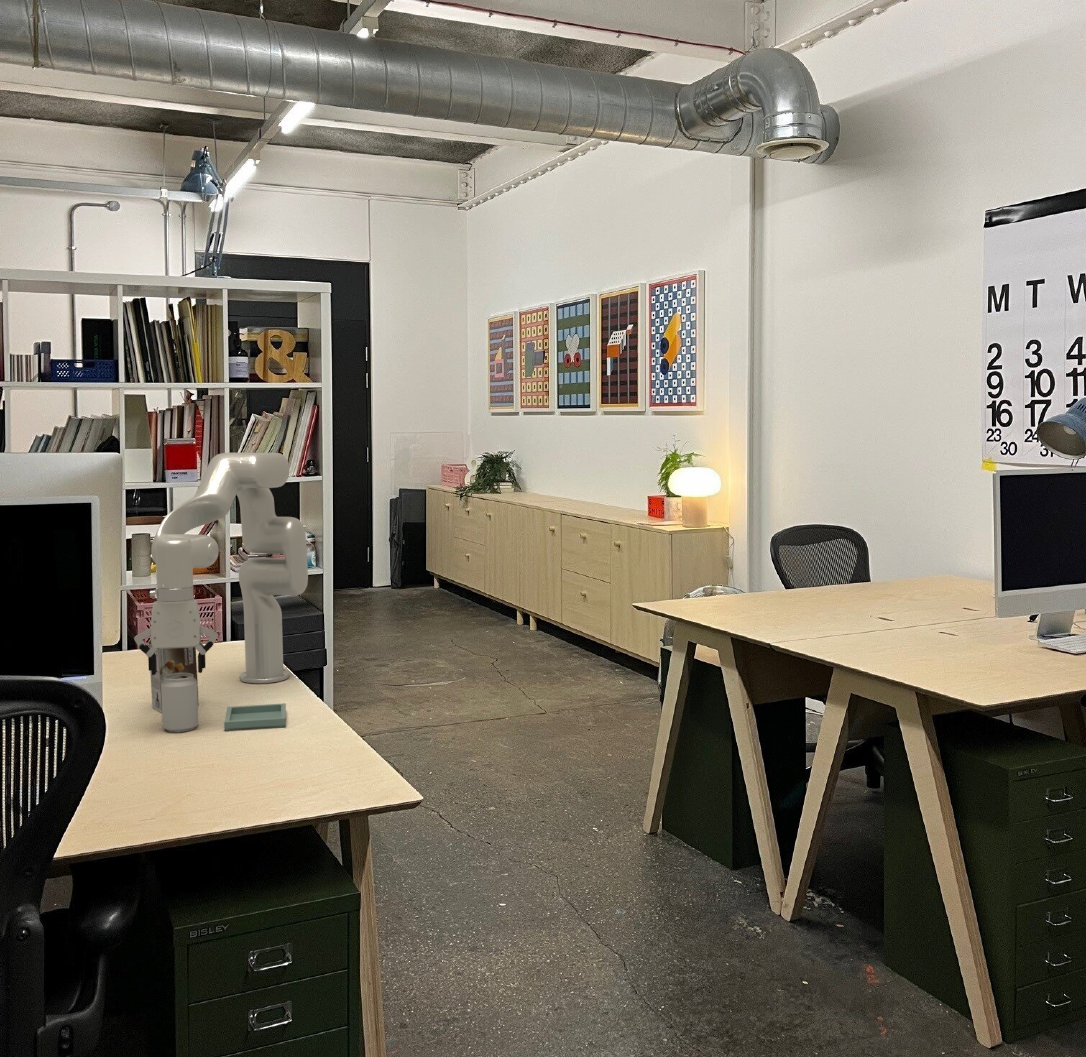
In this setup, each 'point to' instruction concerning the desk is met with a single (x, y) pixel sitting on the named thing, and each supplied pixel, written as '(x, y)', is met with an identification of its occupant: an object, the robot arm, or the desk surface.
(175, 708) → the can
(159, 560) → the robot arm
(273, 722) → the tray
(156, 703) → the coffee box
